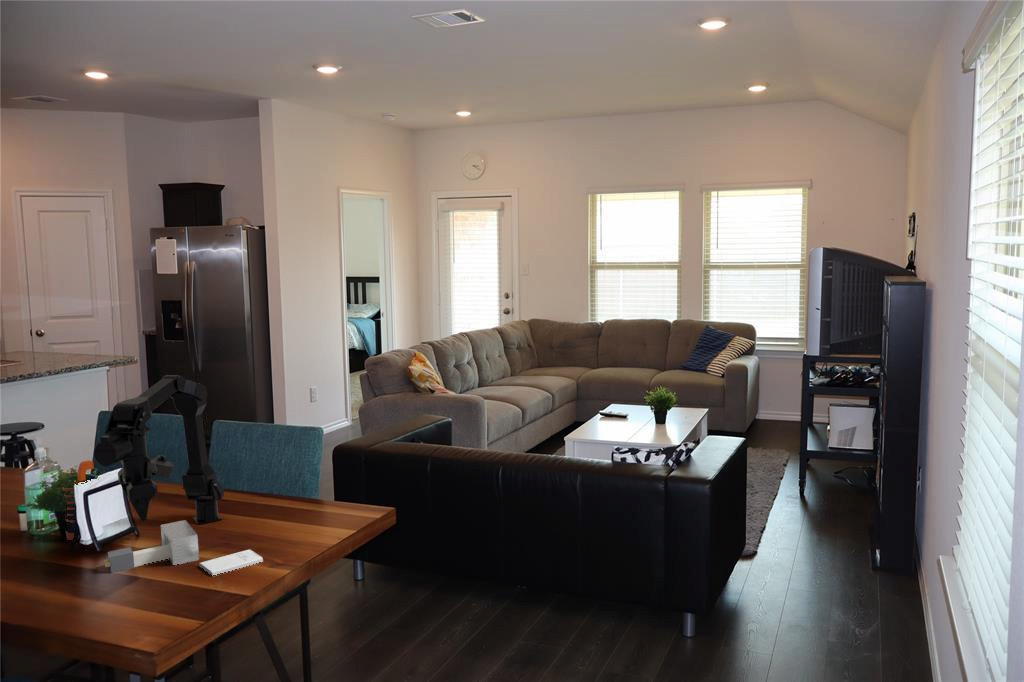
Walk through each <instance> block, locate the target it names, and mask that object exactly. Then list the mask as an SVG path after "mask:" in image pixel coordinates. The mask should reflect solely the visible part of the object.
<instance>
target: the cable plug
mask: <svg viewBox="0 0 1024 682" xmlns="http://www.w3.org/2000/svg"><path fill="white" fill-rule="evenodd" d="M169 558H170V551H169V544H167V545H162V544H161V545H157V546H153V547H148V548H145V549H144V548H143V549H139V550H135V551H133V549H132V548H131V547H130V546H129V547H126V548H121V549H115V550H110V551H108V552H107V559H103V562H104V565H105V568H108V569H109V571H110V573H111V574H113V573H114V572H115V573H120V572H123V571H127V570H132V569H135V568H136V567H140V566H145V565H144V564H146V565H149V564H148V563H150V564H153V563H152V562H154V563H157V562H156V561H159V562H162V561H161V560H163V561H166V560H165V559H168V560H170V559H169ZM115 573H114V574H115Z"/></svg>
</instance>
